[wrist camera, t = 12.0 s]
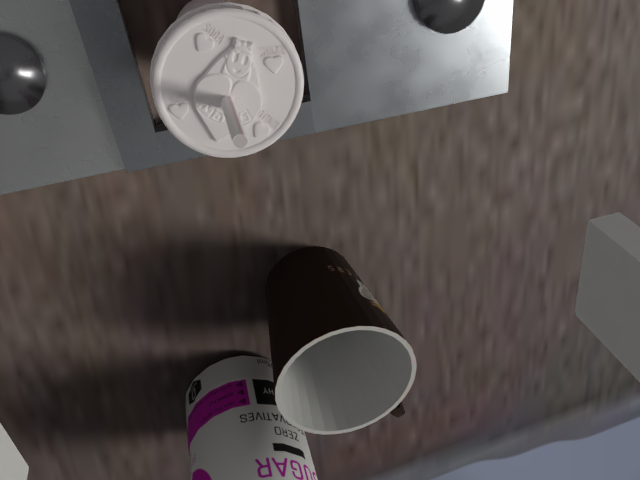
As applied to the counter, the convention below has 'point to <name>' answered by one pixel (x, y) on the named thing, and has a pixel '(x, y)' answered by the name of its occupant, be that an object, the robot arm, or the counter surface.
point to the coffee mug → (332, 346)
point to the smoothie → (226, 79)
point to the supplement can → (242, 426)
